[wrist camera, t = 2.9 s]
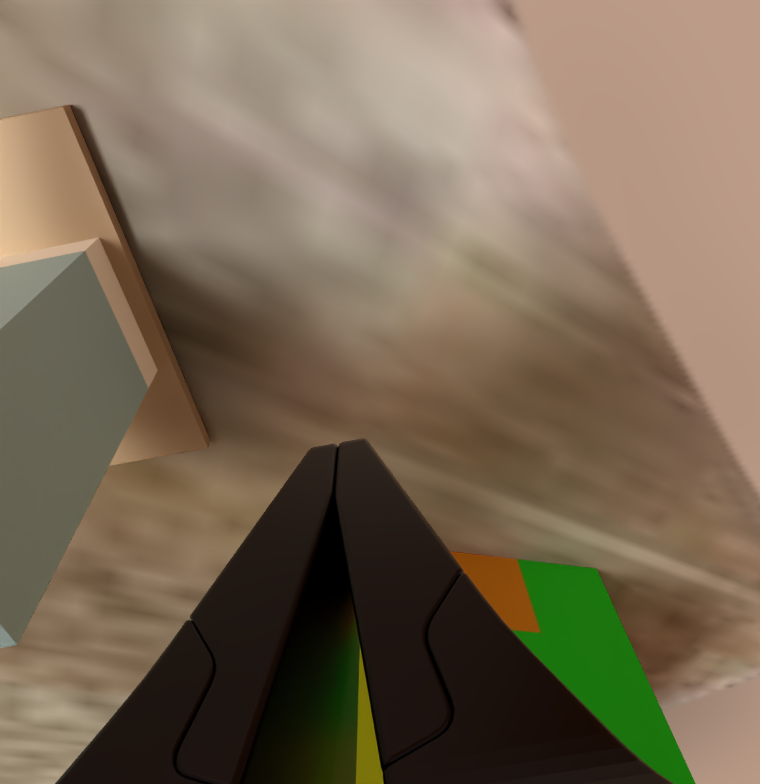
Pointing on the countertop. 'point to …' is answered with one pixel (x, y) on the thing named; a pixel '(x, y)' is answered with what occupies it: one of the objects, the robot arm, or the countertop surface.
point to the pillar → (58, 407)
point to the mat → (98, 220)
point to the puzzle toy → (562, 656)
